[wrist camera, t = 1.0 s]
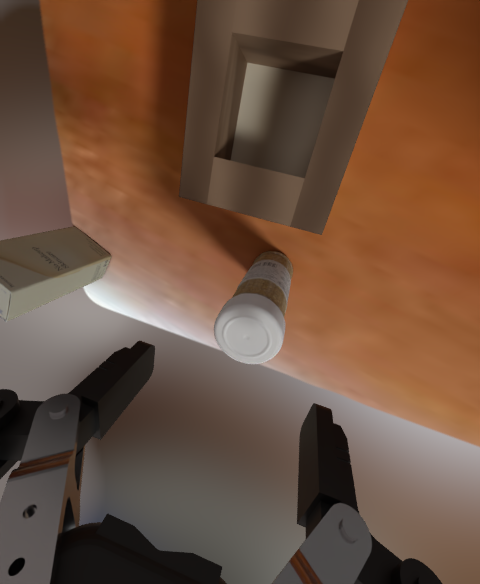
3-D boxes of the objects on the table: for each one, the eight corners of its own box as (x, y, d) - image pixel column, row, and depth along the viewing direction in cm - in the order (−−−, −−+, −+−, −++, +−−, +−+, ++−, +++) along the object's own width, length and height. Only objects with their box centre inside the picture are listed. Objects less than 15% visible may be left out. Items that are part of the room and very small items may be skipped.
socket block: (386, 32, 18) (418, -30, 13) (318, 223, 24) (321, 234, 19) (231, 8, 20) (202, -56, 14) (205, 193, 26) (179, 196, 21)
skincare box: (113, 255, 32) (14, 293, 21) (102, 279, 34) (7, 325, 23) (73, 224, 32) (-49, 246, 21) (64, 250, 34) (-50, 283, 23)
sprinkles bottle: (250, 283, 29) (209, 356, 17) (256, 245, 27) (214, 297, 15) (288, 292, 28) (274, 375, 16) (298, 254, 26) (290, 315, 14)
